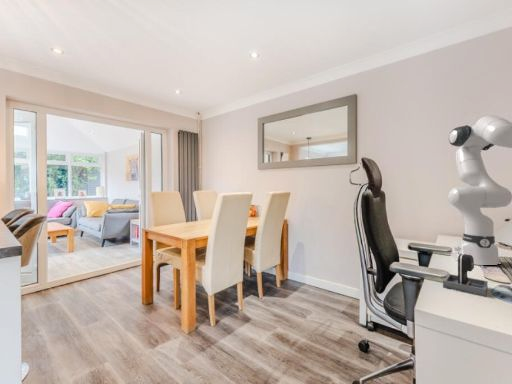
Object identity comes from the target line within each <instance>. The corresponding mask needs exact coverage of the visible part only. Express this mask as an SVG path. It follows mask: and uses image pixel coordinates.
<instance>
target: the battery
mask: <svg viewBox="0 0 512 384" xmlns="http://www.w3.org/2000/svg"><path fill="white" fill-rule="evenodd" d="M474 268H475V264H474V259H473V256H471V255H467V254H460V255H459V256H458V261H457V276H458V283H459V284H464V285H469V286H471V282H470V281H469V279H468V278H469V277H468V272H472V271H473V270H474Z"/></svg>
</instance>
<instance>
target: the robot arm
mask: <svg viewBox="0 0 512 384" xmlns="http://www.w3.org/2000/svg"><path fill="white" fill-rule="evenodd" d="M448 141H449V144H450V145H451V146H454V147H458V149H457V150H455V156H454V157H455V165H456V170H457V173H458V177H459V180H460V181H462V182H463V183H465V184H467V185H465V186H457V187H453V188H452V189H450V191H449V192H448V195H447V198H448V201H449V204H451V205H452V206H454V208H456V209H457V210H458V211H459V213H460V214H461V216H462V218H463V226H464V232H463V234H462V241H461V242H460V243H459V244H457V246H454V251H455V252H456V253H455V252H454V253H453V252H452V253H451V254H450V255H451V256H452V258H453V259H454V260H455V261H456V262H458V256H459V255H460V254H467V255H471V256H473V259H474V265H476V266H483V265H497V264H498V263H501V262H502V261H500V258H499V248H498V246H496V245H495V244H496V239H495V235H494V221H493V219H492V218H491V217H490V216H488V215H485V214H483V212H482V210H481V208H482V209H484V208H485V209H488V208H489V209H496V208H502V207H507V206H509V205H510V203H511V202H512V191H511V190H510V189H508V188H506V187H504V186H502V185H500V184H499V183H497V182H496V181H495V180H493V178H491V176H490V175H489V173H488V172H487V169H486V166H485V164H484V161H483V158H482V155H481V153H482V151H488V150H489V149H490V148H492V147H494V146H498V147H503V148H508V149H512V122H511V121H509V120H508V119H505V118H502V117H500V116H496V115H485V116H482V117H480V118H479V119H478V120H477V121H476V122H475V124H474V125H468V124H466V125H461V126H458V127H454V128H453V129H452V130H451V131H450V133H449V136H448ZM499 261H500V262H499Z"/></svg>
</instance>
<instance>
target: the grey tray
mask: <svg viewBox="0 0 512 384" xmlns="http://www.w3.org/2000/svg"><path fill="white" fill-rule="evenodd" d="M468 279H469V281H470V282H471V286H469V285H464V284H459V283H458V274H451V273H448V274H447V275H446V276H445V278H444V279H443V281H442V288H445V289H448V290H452V291H457V292H462V293H465V294H470V295H475V296H479V297H484V298H486V297H487V292H488V281H487V280H483V279H477V278H472V277H468Z"/></svg>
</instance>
